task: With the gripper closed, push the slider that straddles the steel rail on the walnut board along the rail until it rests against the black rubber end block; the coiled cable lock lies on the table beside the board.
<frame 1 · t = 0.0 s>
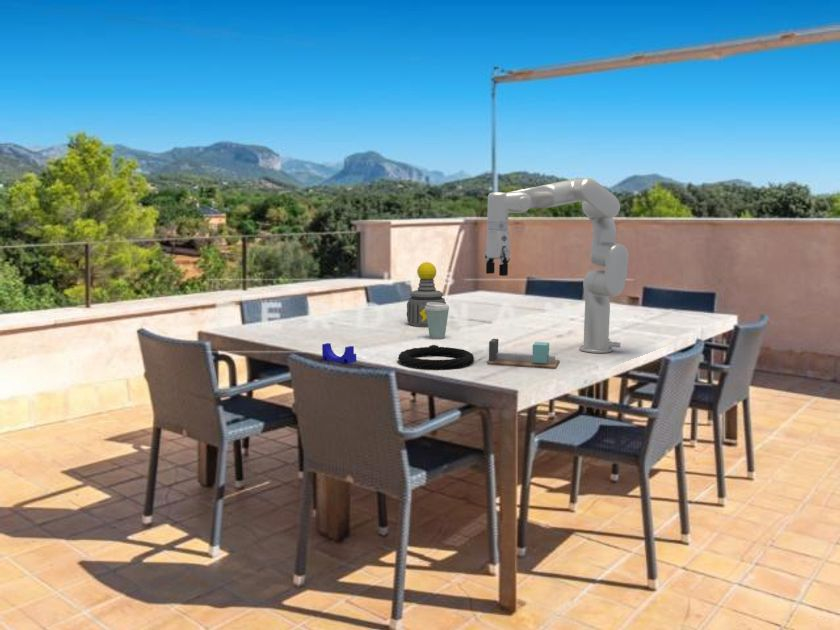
hand: (496, 274, 268), 31 cm above the table, tool pointing down, fingers open, 9 cm apart
rail: (525, 358, 264), on the board, point 1 cm above the table
cable clip: (339, 361, 267), on the table
cable lock: (435, 362, 267), on the table
slider: (540, 352, 262), point 4 cm above the table, slide at 0.0 cm
disposable coffee cup: (436, 338, 317), on the table
decorative lamp: (426, 325, 354), on the table
board: (523, 363, 264), on the table
stop: (493, 361, 267), resting on board
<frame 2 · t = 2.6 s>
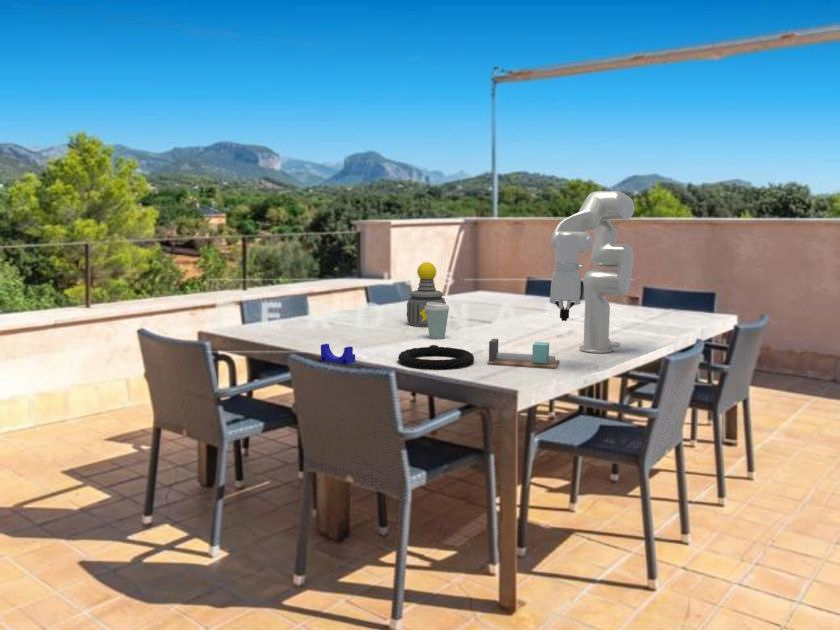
hand: (564, 320, 257), 16 cm above the table, tool pointing down, fingers closed
cable clip: (338, 362, 266), on the table
everything else where it was.
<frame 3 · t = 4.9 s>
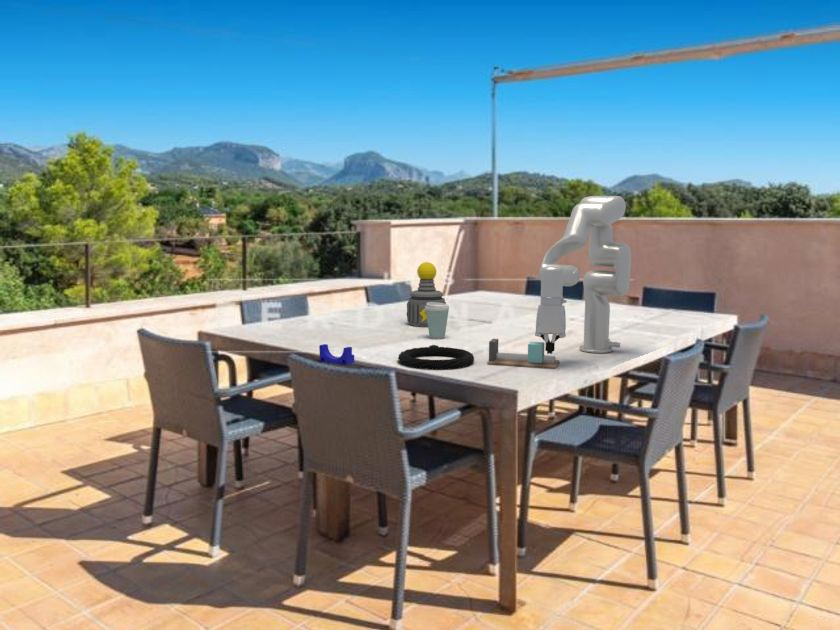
hand: (549, 353, 261), 4 cm above the table, tool pointing down, fingers closed
slider: (536, 352, 262), point 4 cm above the table, slide at 1.7 cm, touching gripper
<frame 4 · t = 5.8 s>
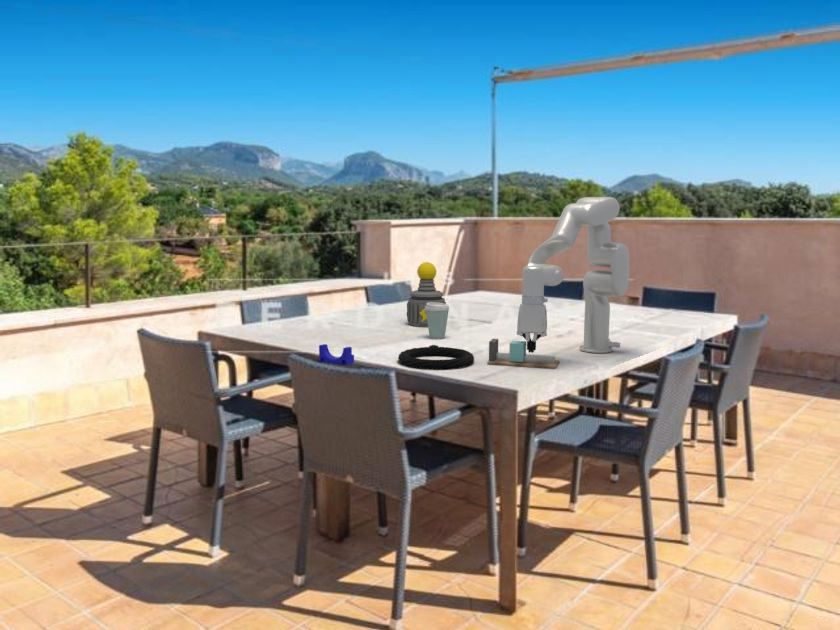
hand: (531, 351, 263), 4 cm above the table, tool pointing down, fingers closed
slider: (517, 351, 264), point 4 cm above the table, slide at 8.2 cm, touching gripper
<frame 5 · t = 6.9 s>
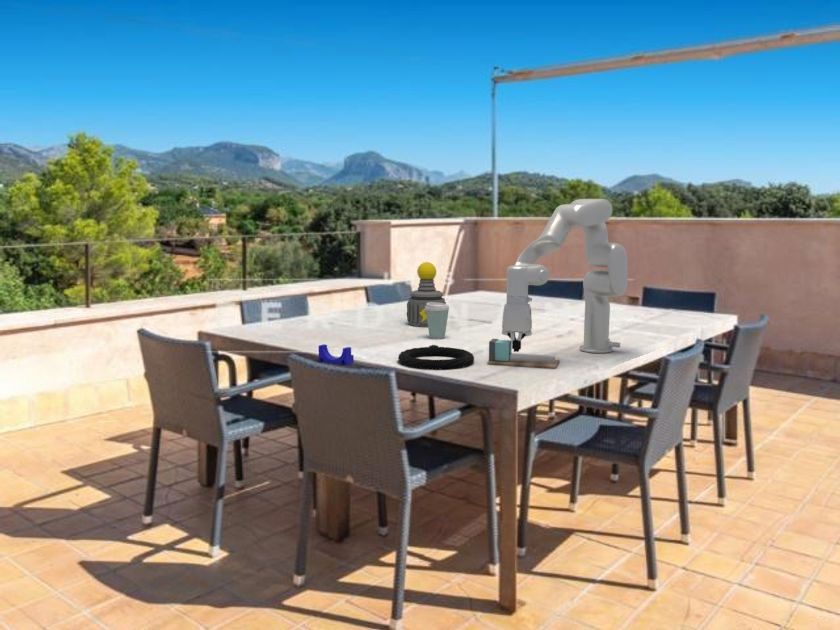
hand: (516, 351, 264), 4 cm above the table, tool pointing down, fingers closed
slider: (503, 350, 266), point 4 cm above the table, slide at 13.5 cm, touching gripper, stop
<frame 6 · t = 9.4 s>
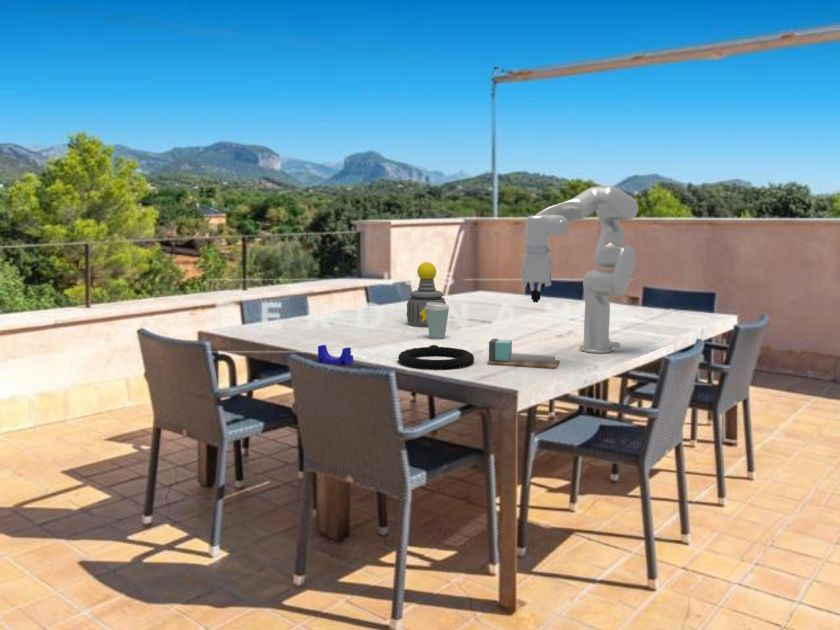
hand: (535, 301, 264), 22 cm above the table, tool pointing down, fingers closed
slider: (503, 350, 266), point 4 cm above the table, slide at 13.4 cm
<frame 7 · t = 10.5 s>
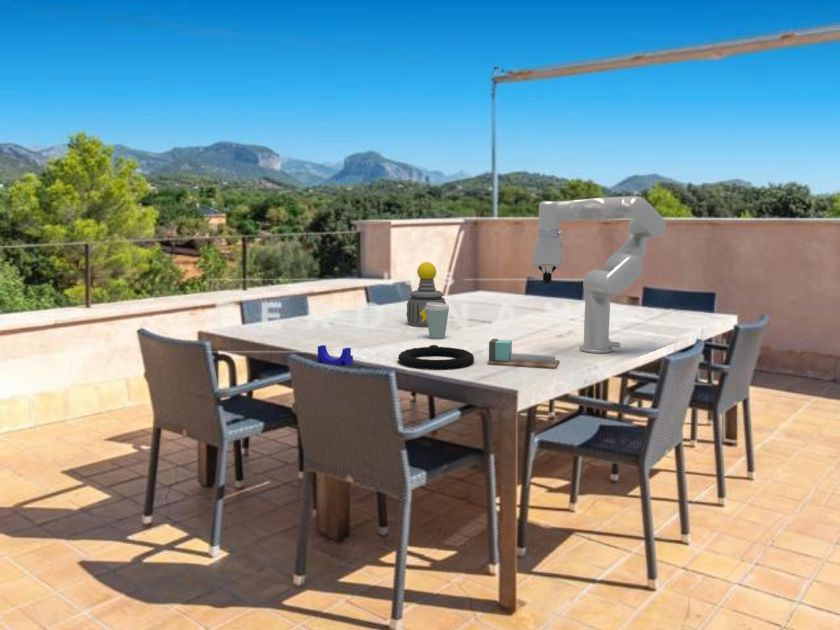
hand: (547, 283, 278), 27 cm above the table, tool pointing down, fingers closed
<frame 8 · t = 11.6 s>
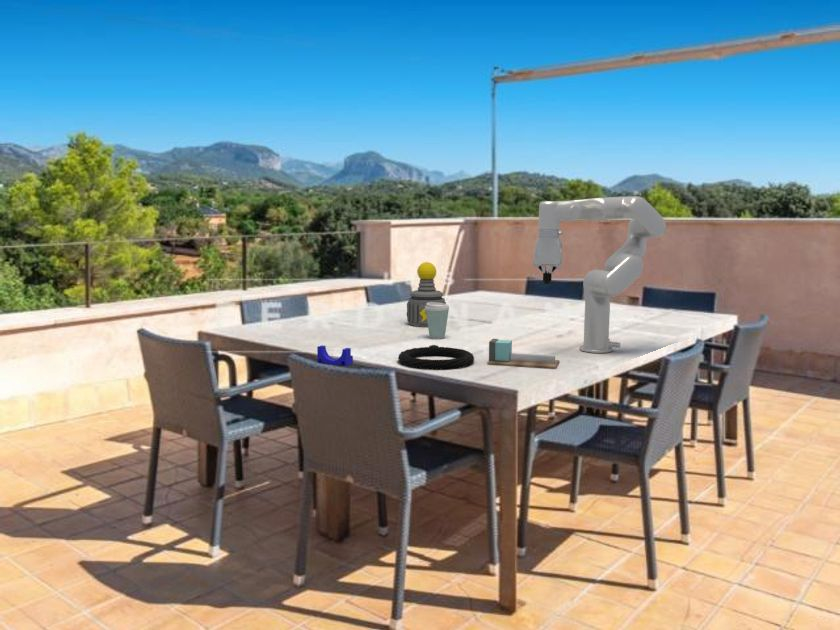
hand: (547, 283, 278), 27 cm above the table, tool pointing down, fingers closed
at the end: slider slide at 13.4 cm; slider touching nothing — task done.
